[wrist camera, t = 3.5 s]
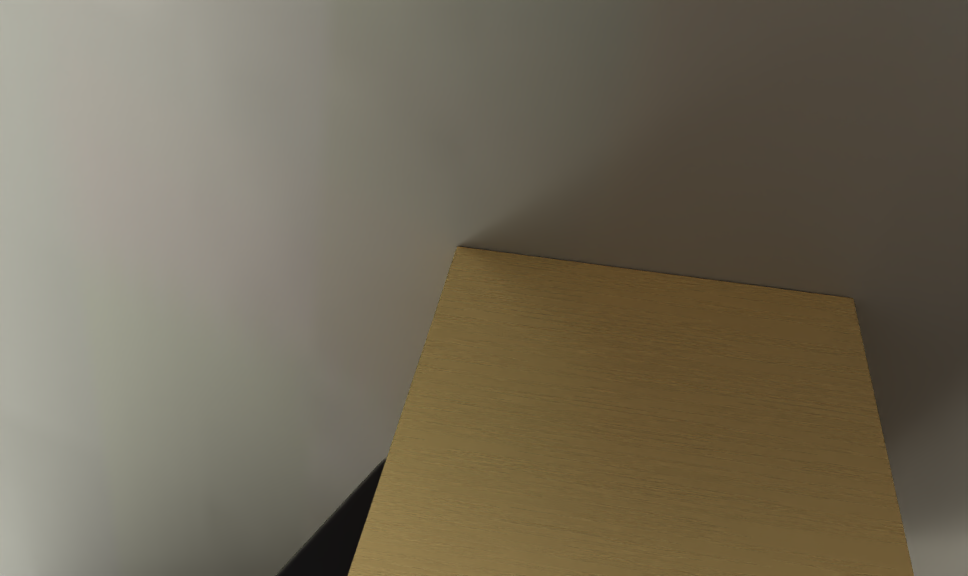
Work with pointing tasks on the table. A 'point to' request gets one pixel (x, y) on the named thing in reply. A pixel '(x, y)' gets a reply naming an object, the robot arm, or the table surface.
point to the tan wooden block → (634, 432)
